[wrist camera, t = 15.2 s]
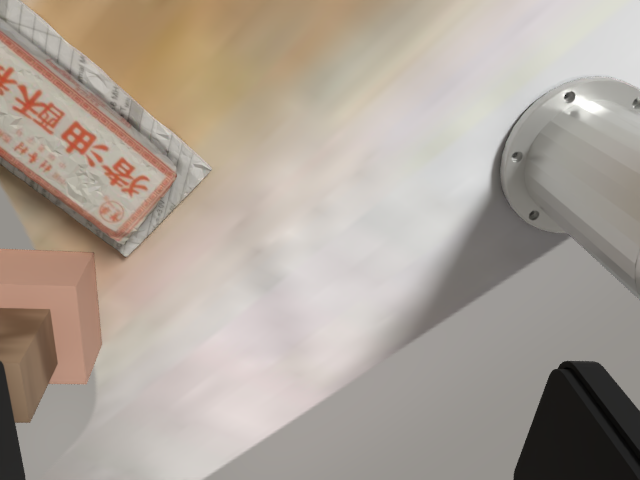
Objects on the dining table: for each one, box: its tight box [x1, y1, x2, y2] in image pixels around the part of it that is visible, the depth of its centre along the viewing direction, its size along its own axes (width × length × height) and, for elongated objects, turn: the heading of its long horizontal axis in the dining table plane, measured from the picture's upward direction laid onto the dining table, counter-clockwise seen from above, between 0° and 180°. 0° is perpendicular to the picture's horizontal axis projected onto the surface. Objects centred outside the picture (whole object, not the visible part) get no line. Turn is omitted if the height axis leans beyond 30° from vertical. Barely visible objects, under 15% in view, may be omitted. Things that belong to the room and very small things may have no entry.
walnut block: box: [0, 308, 58, 423], centre depth 39 cm, size 5×5×6 cm
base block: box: [0, 249, 102, 384], centre depth 44 cm, size 9×9×5 cm
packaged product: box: [0, 0, 212, 257], centre depth 38 cm, size 18×5×10 cm
